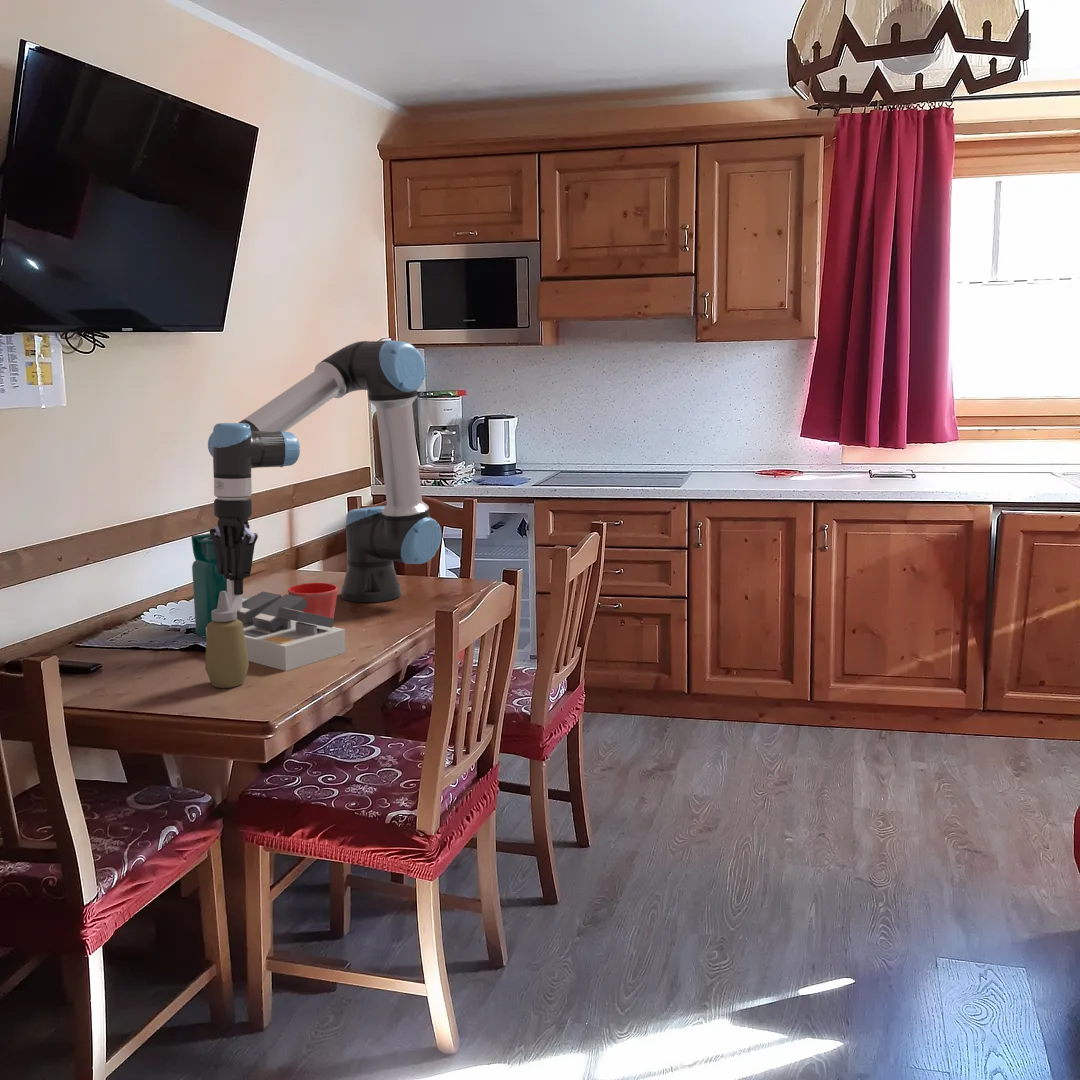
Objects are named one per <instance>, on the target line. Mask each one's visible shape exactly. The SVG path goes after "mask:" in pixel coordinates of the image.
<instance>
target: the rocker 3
mask: <svg viewBox="0 0 1080 1080" xmlns="http://www.w3.org/2000/svg"><path fill="white" fill-rule="evenodd" d="M277 617H280V618H284V619H289V620H293V621H298V622H303V623H309V624H314V625H319V626H325V627H330V628H332V627H334V621H335V618H330V617H325V616H320V615H316V614H311V613H306V612H303V611H298V610H293V609H288V608H280V607H279V609H278V614H277Z"/></svg>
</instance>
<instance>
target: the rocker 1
mask: <svg viewBox="0 0 1080 1080" xmlns="http://www.w3.org/2000/svg"><path fill="white" fill-rule="evenodd" d="M281 597H282V595H281V594H279V593H278V594H277V593H271V592H267V591H261V592H259V593H257V594H255V595H253V596H251V597H249V598H247V599H245V600H242V609H239V610H237V619H238V620H240V621H242V622H246V623H248V622H250V621H251V620H252V618H253V617H254V616H256V615H257V614H259V613H260V612H261V611H263V610H264V609H266V608H267V607H268V606H270V605H271V604H273V603H274V602H276V601H277V600H278V599H280V598H281Z"/></svg>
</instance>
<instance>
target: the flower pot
mask: <svg viewBox="0 0 1080 1080" xmlns="http://www.w3.org/2000/svg"><path fill="white" fill-rule="evenodd" d="M338 590H339V588H338V586H337V585H335V584H333V583H332V584H331V583H328V582H327V583H326V582H307V583H301V584H296V585H292V586H290V587H288V589H287V593H288V595H293V596H298V597H303V598H305V599H306V602H307V605H308V606H307V607H306V608H304V609H303V610H302V611H303V612H306V613H311V614H316V615H320V616H325V617H330V618H334V616H335V611H336V605H337V598H338ZM334 619H335V618H334Z"/></svg>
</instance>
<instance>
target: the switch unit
mask: <svg viewBox="0 0 1080 1080" xmlns="http://www.w3.org/2000/svg"><path fill="white" fill-rule="evenodd" d="M241 622H242V621H241ZM242 623H243V630H244V636H245V642H246V649H247V655H248V661H249V662H250V663H254V664H258V665H260V666H261V665H262V666H264V667H265V666H266V667H269V668H273V669H278V670H279V671H284V672H287V671H291V670H294V669H297V668H301V667H304V666H308V665H310V664H314V663H316V662H317V663H318V662H319V661H323V660H326V659H330V658H332V657H336V656H339V655H342V654H346V651H347V650H346V649H347V647H346V629H345V628H340V627H335V626H333V627H332V628H330V627H325V626H319V625H314V624H309V623H303V622H298V621H293V620H288V621H287V622H285V623H284V624H282V625H281V626H280V627H278V628H277V629H276V630H274V631H272V630H268V629H263V628H259V627H255V626H254V623H253V621H252V620H251V621H250V622H248V623H246V622H242ZM205 639H207V627H206V637H205Z"/></svg>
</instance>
